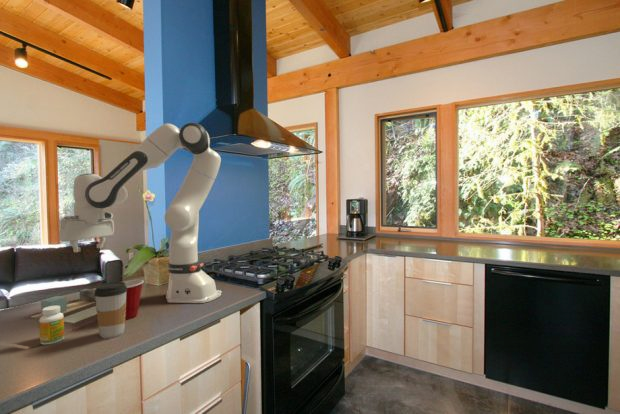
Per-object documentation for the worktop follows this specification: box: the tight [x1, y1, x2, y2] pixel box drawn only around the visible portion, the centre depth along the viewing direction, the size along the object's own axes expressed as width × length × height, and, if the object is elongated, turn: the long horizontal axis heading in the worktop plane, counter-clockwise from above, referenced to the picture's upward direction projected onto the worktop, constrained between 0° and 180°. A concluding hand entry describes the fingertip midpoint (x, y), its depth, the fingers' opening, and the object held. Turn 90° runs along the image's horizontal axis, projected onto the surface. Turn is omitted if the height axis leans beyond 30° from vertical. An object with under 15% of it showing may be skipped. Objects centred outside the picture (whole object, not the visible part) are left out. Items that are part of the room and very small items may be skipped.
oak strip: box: [30, 288, 96, 319], centre depth 114 cm, size 8×20×5 cm, turn 164°
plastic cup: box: [123, 279, 145, 321], centre depth 106 cm, size 11×11×12 cm
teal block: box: [40, 295, 68, 315], centre depth 109 cm, size 5×5×5 cm
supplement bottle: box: [38, 306, 65, 346], centre depth 89 cm, size 5×5×10 cm
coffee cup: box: [94, 281, 127, 339], centre depth 93 cm, size 8×8×15 cm
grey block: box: [64, 305, 97, 324], centre depth 111 cm, size 8×20×5 cm, turn 164°
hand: (88, 249), depth 121 cm, fingers open, 8 cm apart
